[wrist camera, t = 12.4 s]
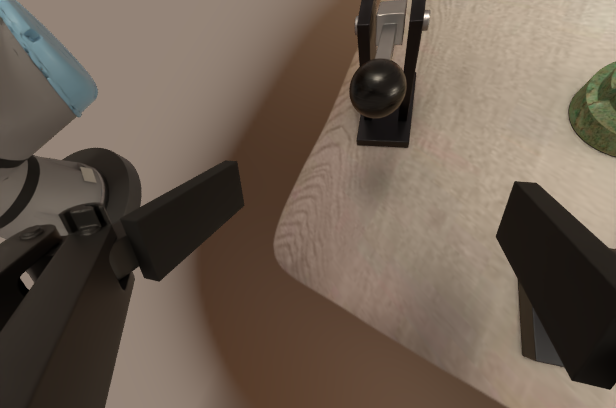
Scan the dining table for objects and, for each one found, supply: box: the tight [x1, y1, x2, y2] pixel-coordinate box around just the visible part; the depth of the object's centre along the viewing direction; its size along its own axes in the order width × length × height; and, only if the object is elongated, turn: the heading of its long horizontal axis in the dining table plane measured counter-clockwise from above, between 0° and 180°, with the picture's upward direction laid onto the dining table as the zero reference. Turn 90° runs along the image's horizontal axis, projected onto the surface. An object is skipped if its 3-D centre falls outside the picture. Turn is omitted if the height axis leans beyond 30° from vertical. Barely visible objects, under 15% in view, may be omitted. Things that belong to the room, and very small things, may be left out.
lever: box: [349, 0, 407, 118], centre depth 20 cm, size 13×4×4 cm, turn 168°
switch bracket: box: [355, 0, 430, 147], centre depth 28 cm, size 10×6×14 cm, turn 168°
